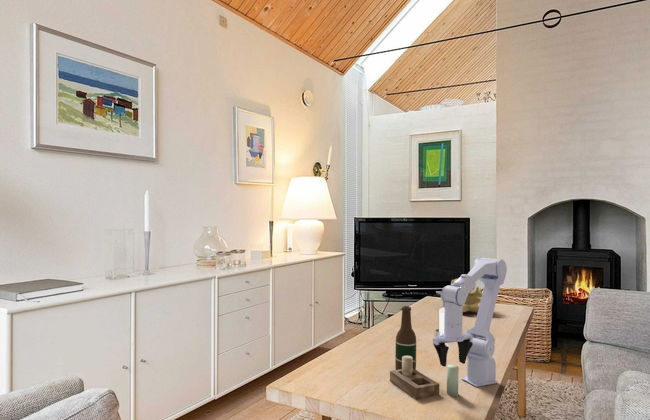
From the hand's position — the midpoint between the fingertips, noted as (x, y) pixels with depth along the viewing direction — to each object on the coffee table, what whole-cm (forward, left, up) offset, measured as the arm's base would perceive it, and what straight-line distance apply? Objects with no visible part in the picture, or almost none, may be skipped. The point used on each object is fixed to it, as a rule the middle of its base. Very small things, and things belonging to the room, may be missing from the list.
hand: (452, 364), depth 147 cm
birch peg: (+9, -13, -10) cm, 19 cm away
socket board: (+9, -9, -10) cm, 16 cm away
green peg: (0, 0, -10) cm, 10 cm away
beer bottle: (+3, -23, -10) cm, 25 cm away
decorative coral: (-83, -87, -10) cm, 121 cm away
